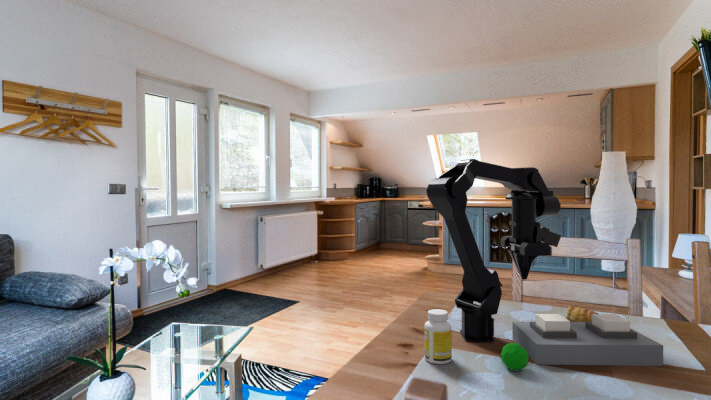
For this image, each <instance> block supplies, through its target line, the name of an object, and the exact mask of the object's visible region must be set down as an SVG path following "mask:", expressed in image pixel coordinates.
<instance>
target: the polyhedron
mask: <svg viewBox="0 0 711 400" xmlns="http://www.w3.org/2000/svg"><path fill="white" fill-rule="evenodd" d="M529 358H530V357H529V355H528V353H527V350H525V349H524V348H523V347H521V346H520V345H519V344H517V343H516V342H509V343H507V344H505V345H503V347H502V349H501V352H500V359H501V362H502V364H503V365H505V366H506V367H507V368H508V369H510V371H514V370H518V371H519V372H520V371H523V369H525V368H527V366H528V362H529Z"/></svg>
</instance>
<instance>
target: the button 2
mask: <svg viewBox="0 0 711 400" xmlns="http://www.w3.org/2000/svg"><path fill="white" fill-rule="evenodd" d="M592 325H594V326H596V327H597V328H599V329H601V330H602V331H604V332H630V328H631V321H629V320H628V319H626V318H624V317H621V316H620V315H618V314H616V313H599V314H592Z"/></svg>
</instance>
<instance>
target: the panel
mask: <svg viewBox="0 0 711 400" xmlns="http://www.w3.org/2000/svg"><path fill="white" fill-rule="evenodd" d="M511 326H512V340H513V341H514V343H517V344H519V345H520V346H521V347H523V348H524V349H525V350H527V353H528V355H529V358H530V359H531V360H532V361H533V362H534V363H535V365H537V364H540V365H543V366H544V365H545V366H546V365H549V366H555V365H556V366H560V365H561V366H625V367H626V366H627V367H628V366H630V367H631V366H633V367H634V366H636V367H638V366H639V367H641V366H643V367H649V366H651V367H664V345H663V344H661V343H659V342H658V341H655V340H654V339H652V338H650V337H648V336H646V335H644V334H642V333H640V332H638V331H636V330H634V329H633V328H631V327H630V332H604V331H602V330H601V329H599V328H597V327H596V326H594V325H592V322H570V331H544V330H542V329H541V328H540V327H539V326H537V325H536V321H512V325H511Z"/></svg>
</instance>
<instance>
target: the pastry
mask: <svg viewBox="0 0 711 400" xmlns="http://www.w3.org/2000/svg"><path fill="white" fill-rule="evenodd" d="M592 314H600V313H598V312H596V311H594V310H590V309H588V308H586V307H585V308H582V307H580V306H579V307H575V306H573V305H570V306H568V307H567V311H566V314H565V318H566V319H567V320H569V321H570V322H592Z"/></svg>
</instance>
